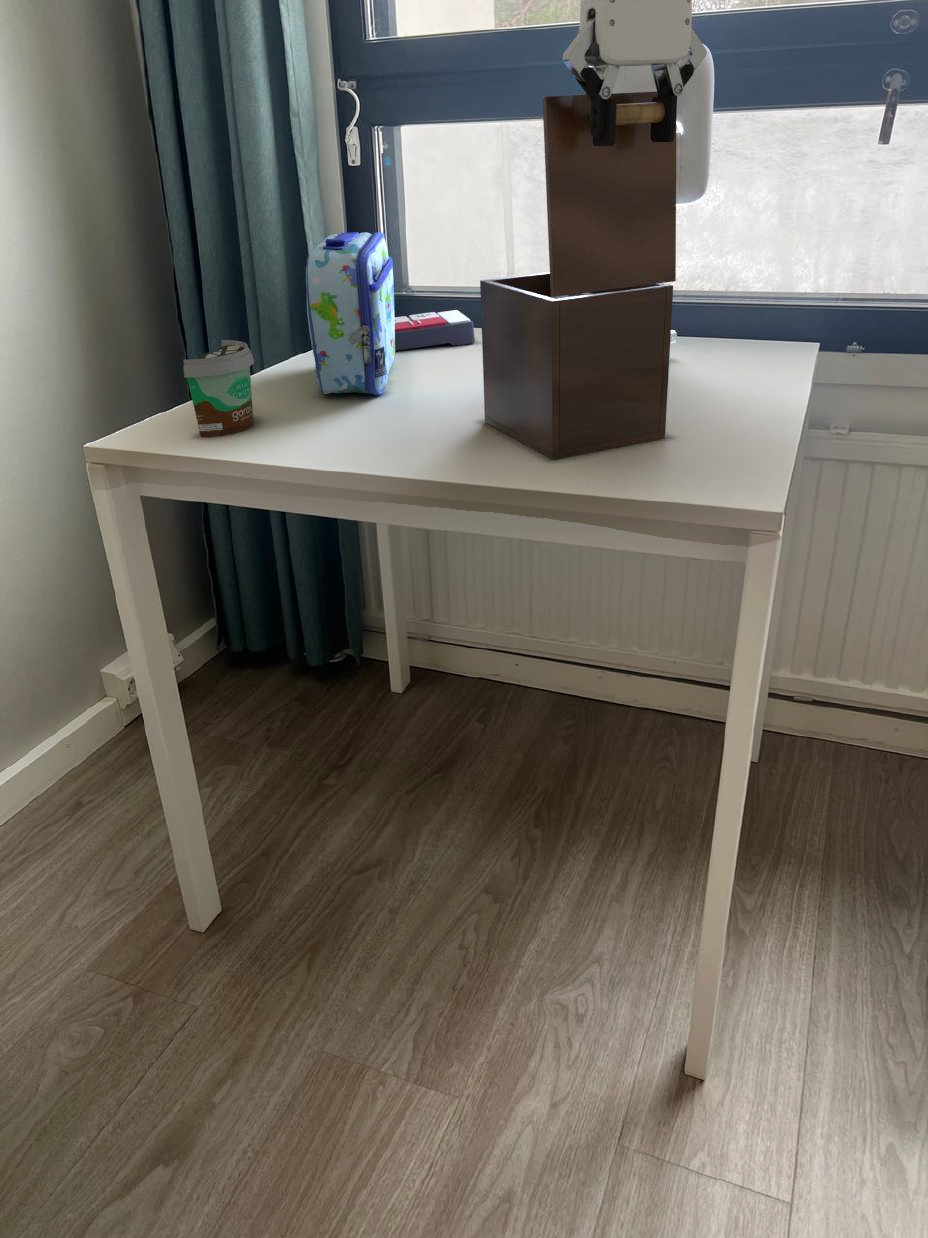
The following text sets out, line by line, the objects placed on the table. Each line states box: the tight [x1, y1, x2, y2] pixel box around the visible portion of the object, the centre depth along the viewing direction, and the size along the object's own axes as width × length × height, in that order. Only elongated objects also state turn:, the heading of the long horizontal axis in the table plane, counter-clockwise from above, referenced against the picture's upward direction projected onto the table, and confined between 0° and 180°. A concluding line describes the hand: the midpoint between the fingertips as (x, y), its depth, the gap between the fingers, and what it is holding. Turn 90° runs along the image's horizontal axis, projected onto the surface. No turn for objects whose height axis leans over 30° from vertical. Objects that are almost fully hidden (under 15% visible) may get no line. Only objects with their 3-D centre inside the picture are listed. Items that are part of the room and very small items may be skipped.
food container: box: [182, 339, 255, 438], centre depth 126 cm, size 12×6×10 cm, turn 168°
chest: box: [479, 271, 674, 461], centre depth 116 cm, size 18×15×17 cm
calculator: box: [394, 309, 476, 352], centre depth 169 cm, size 11×4×15 cm
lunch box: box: [305, 231, 396, 396], centre depth 142 cm, size 26×11×21 cm, turn 178°
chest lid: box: [542, 91, 678, 297], centre depth 99 cm, size 19×15×5 cm
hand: (633, 141), depth 96 cm, fingers closed on chest lid, 6 cm apart
